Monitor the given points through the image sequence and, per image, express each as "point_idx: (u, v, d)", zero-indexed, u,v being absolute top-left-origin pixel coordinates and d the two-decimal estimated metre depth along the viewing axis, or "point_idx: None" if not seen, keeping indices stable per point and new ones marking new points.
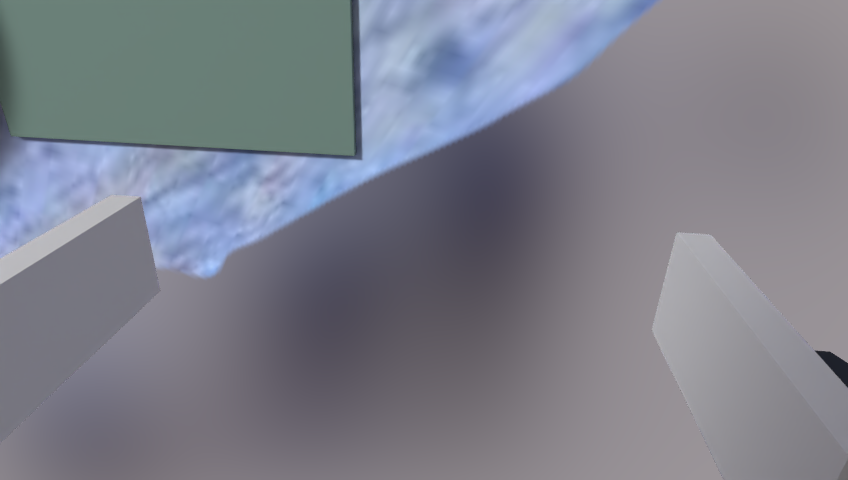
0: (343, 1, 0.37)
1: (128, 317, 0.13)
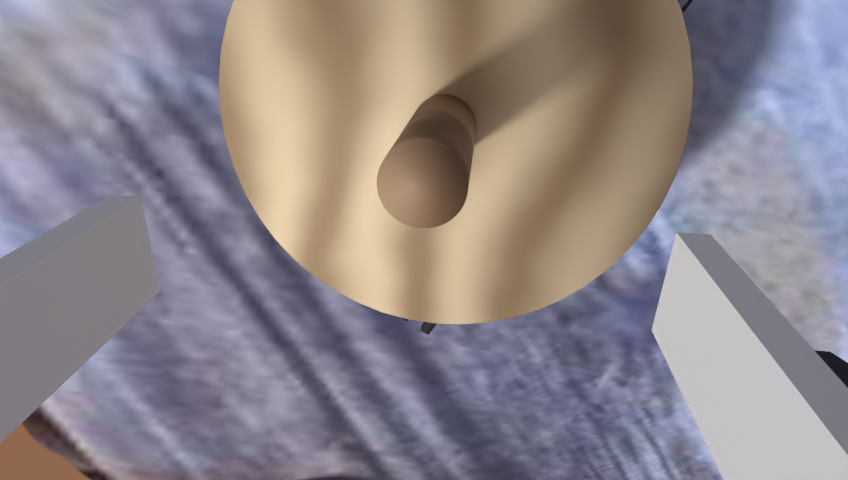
0: None
1: (128, 317, 0.13)
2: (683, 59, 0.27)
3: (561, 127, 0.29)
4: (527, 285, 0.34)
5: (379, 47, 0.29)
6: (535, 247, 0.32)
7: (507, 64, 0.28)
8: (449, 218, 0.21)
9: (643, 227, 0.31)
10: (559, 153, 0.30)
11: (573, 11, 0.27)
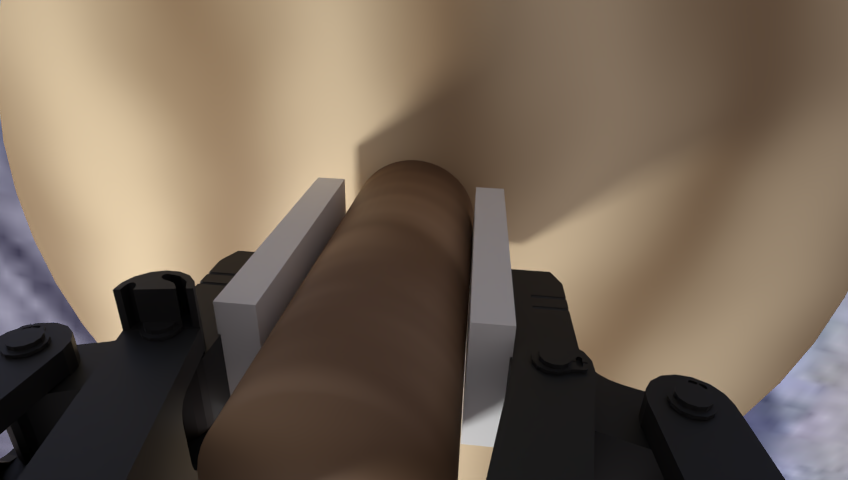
0: None
1: None
2: None
3: (632, 217, 0.16)
4: None
5: (284, 76, 0.15)
6: None
7: (530, 104, 0.15)
8: None
9: (774, 382, 0.18)
10: (627, 261, 0.16)
11: None
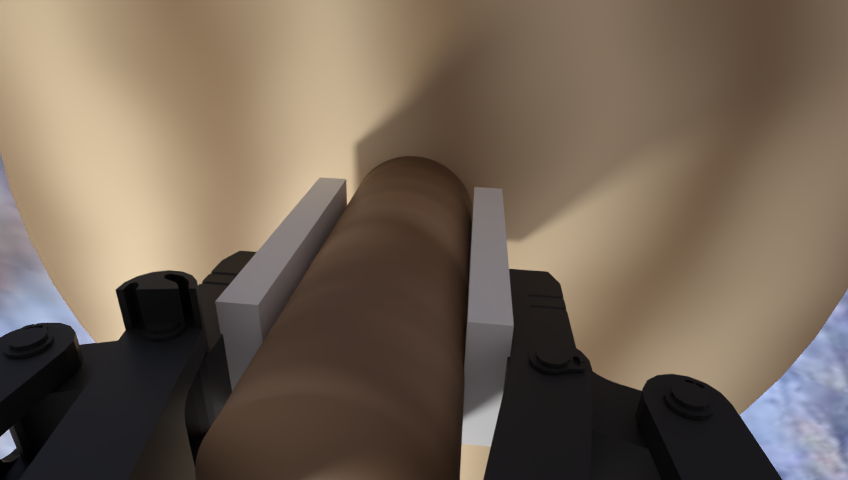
0: None
1: None
2: None
3: (633, 212, 0.16)
4: None
5: (281, 72, 0.15)
6: None
7: (530, 98, 0.15)
8: None
9: (775, 376, 0.17)
10: (627, 257, 0.16)
11: None
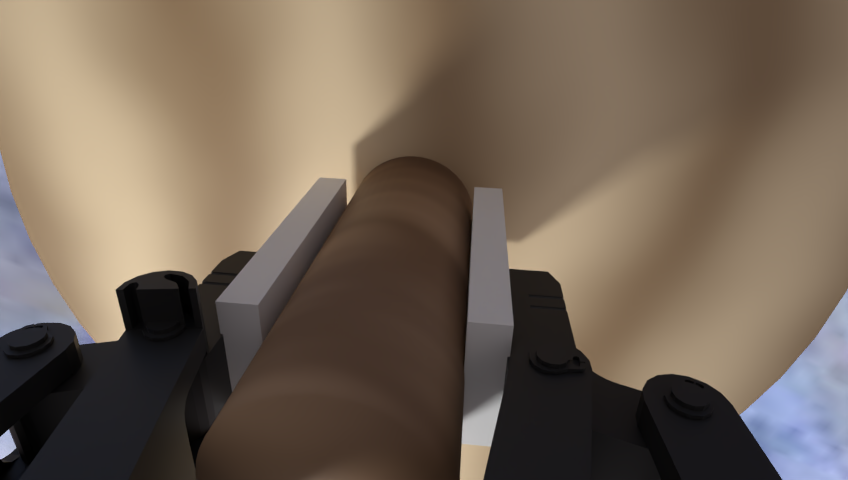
0: None
1: None
2: None
3: (632, 212, 0.16)
4: None
5: (281, 72, 0.15)
6: None
7: (529, 99, 0.15)
8: None
9: (775, 376, 0.17)
10: (627, 257, 0.16)
11: None
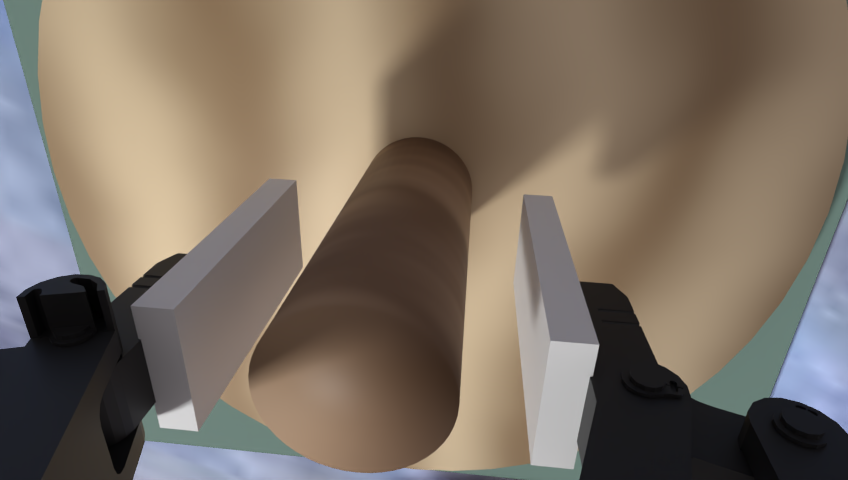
0: None
1: (285, 289, 0.15)
2: (837, 68, 0.15)
3: (615, 187, 0.17)
4: None
5: (300, 61, 0.17)
6: None
7: (522, 85, 0.16)
8: (419, 457, 0.10)
9: (746, 338, 0.19)
10: (611, 228, 0.18)
11: None
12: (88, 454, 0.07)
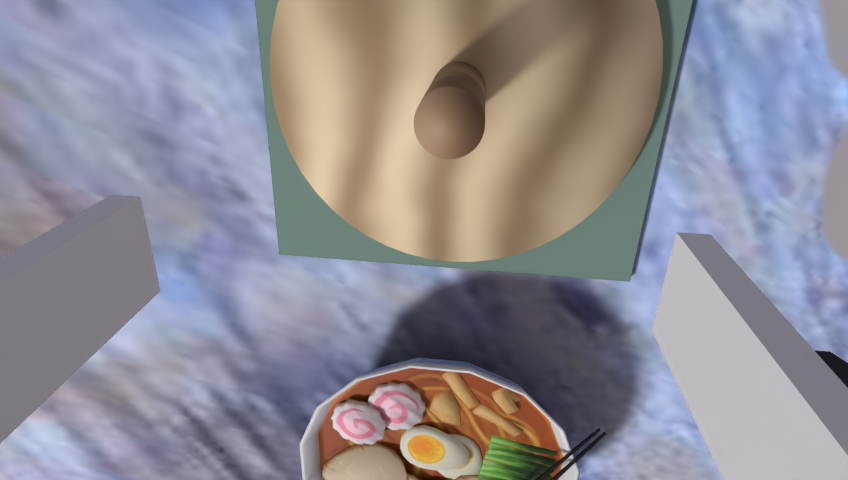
0: None
1: (128, 318, 0.13)
2: (653, 25, 0.33)
3: (556, 86, 0.35)
4: (531, 224, 0.40)
5: (404, 23, 0.35)
6: (537, 190, 0.39)
7: (510, 34, 0.34)
8: (470, 150, 0.28)
9: (626, 170, 0.37)
10: (555, 108, 0.36)
11: None
12: None
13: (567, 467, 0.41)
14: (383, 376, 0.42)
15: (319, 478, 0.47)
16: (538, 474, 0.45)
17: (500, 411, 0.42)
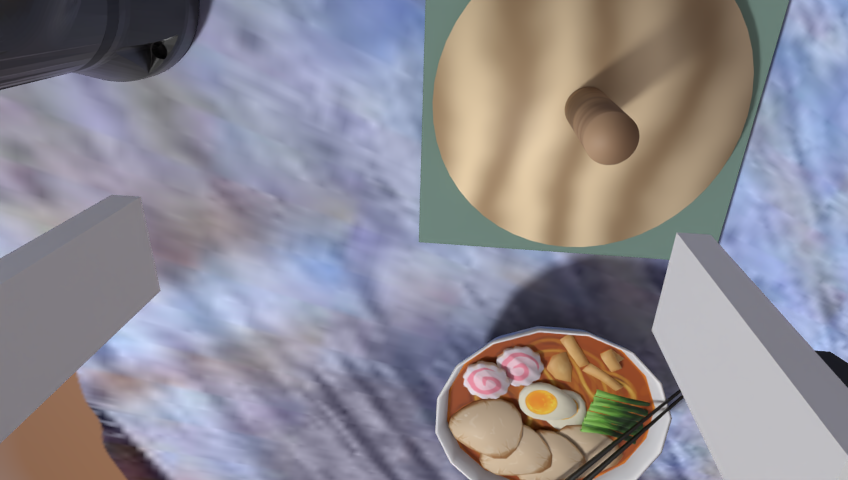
0: None
1: (128, 317, 0.13)
2: (747, 59, 0.43)
3: (665, 106, 0.45)
4: (635, 216, 0.49)
5: (547, 57, 0.44)
6: (643, 188, 0.48)
7: (632, 65, 0.44)
8: (625, 158, 0.37)
9: (717, 171, 0.47)
10: (663, 123, 0.45)
11: (677, 31, 0.42)
12: None
13: (662, 414, 0.51)
14: (510, 341, 0.51)
15: (446, 429, 0.56)
16: (633, 423, 0.54)
17: (606, 369, 0.52)
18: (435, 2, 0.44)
